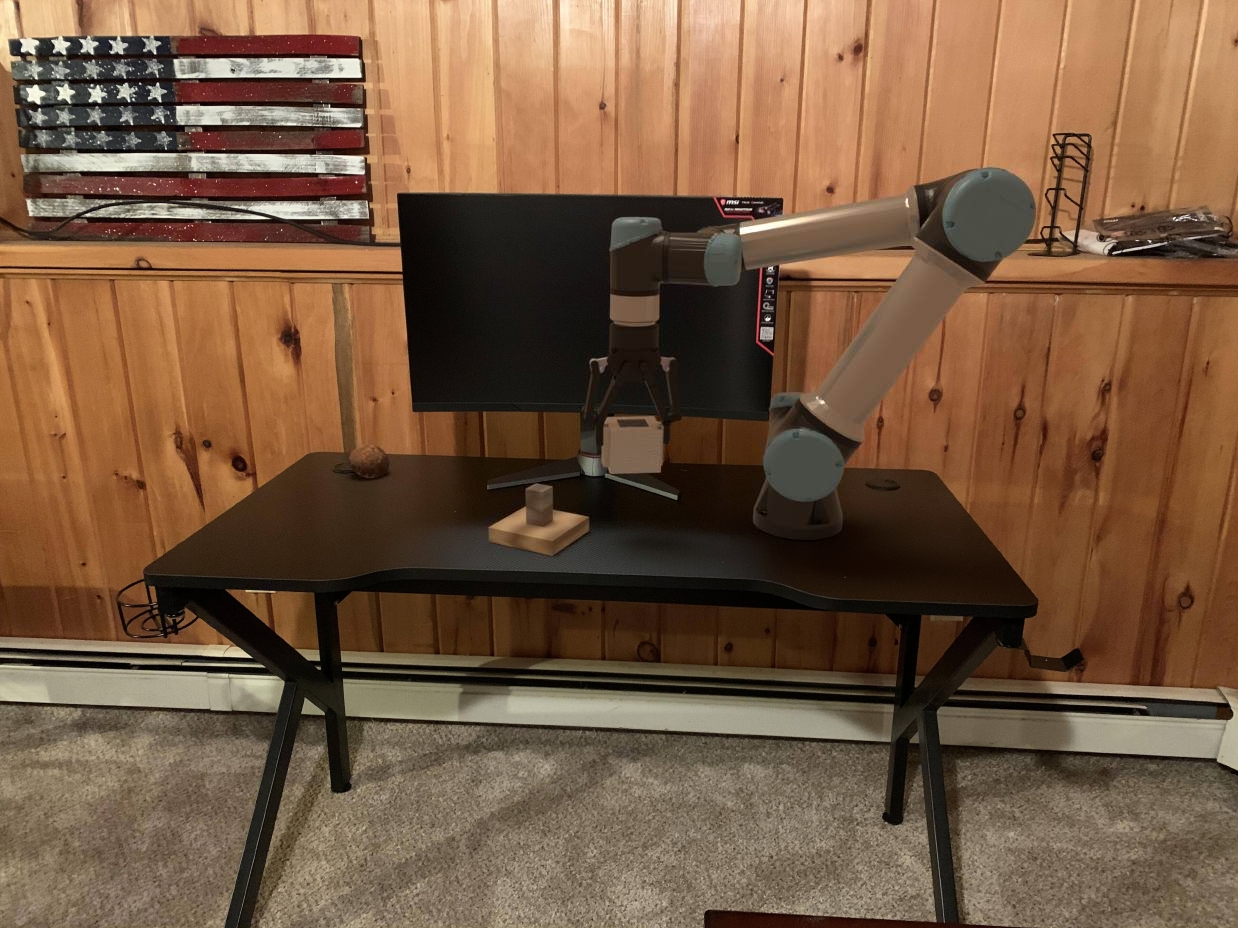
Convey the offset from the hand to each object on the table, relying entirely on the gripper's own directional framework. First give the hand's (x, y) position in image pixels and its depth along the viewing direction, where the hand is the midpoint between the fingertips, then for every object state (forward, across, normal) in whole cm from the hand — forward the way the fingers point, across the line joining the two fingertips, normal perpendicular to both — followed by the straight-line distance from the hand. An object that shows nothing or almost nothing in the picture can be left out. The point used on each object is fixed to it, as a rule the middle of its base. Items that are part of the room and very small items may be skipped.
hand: (631, 463), depth 148 cm
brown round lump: (+13, +47, -38) cm, 62 cm away
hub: (0, 0, 0) cm, 0 cm away
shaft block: (+13, +15, -3) cm, 20 cm away
